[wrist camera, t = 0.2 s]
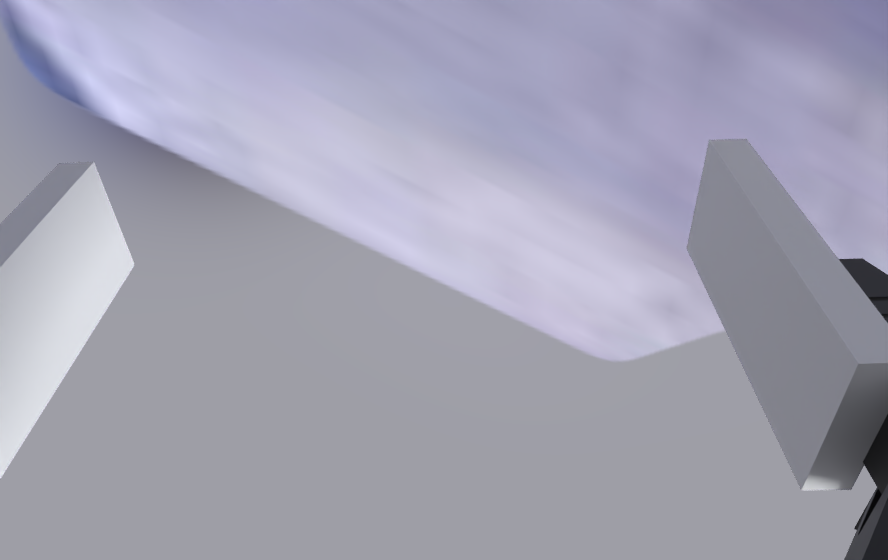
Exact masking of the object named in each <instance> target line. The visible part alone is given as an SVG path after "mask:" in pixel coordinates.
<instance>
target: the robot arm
mask: <svg viewBox="0 0 888 560" xmlns="http://www.w3.org/2000/svg"><path fill="white" fill-rule="evenodd" d="M687 250H688V253H689V255H690V257H691V259H692V261H693V263H694V265H695V267H696V269H697V271H698V274H699V276H700V278H701V280H702V282H703V284H704V286H705V288H706V290H707V293H708V295H709V297H710V299H711V301H712V303H713V305H714V307H715V309H716V312H717V314H718V316H719V318H720V320H721V322H722V324H723V326H724V328H725V330H726V333H727V335H728V337H729V339H730V341H731V343H732V345H733V347H734V349H735V352H736V354H737V356H738V358H739V360H740V362H741V364H742V366H743V368H744V370H745V373H746V375H747V377H748V379H749V381H750V383H751V385H752V387H753V389H754V392H755V394H756V396H757V398H758V400H759V402H760V404H761V406H762V408H763V410H764V413H765V415H766V417H767V419H768V421H769V423H770V425H771V427H772V429H773V432H774V434H775V436H776V438H777V440H778V442H779V444H780V446H781V448H782V451H783V453H784V455H785V457H786V459H787V461H788V463H789V465H790V467H791V470H792V472H793V474H794V476H795V478H796V480H797V482H798V484H799V486H800V489H801V490H851V489H852V487H853V485H854V483H855V482H856V480H857V478H858V476H859V474H860V472H861V470H862V468H863V466H864V465H865V466H866V468H867V470H868V472H869V473H870V475H871V477H872V479H873V480H874V482H875V484H876V486H877V489H876V490H875V492H874V494H873V496H872V498H871V499H870V501H869V503H868V505H867V507H866V508H865V510H864V512H863V514H862V516H861V517H860V519H859V521H858V523H857V525H856V526H855V529H856V530H857V532H856V534H855V536H854V538H853V541H852V543H851V545H850V548H849V551H848V552H847V555H846V557H845V559H844V560H888V275H887V274H885V273H884V272H882V271H881V270H879V269H878V268H876V267H875V266H873V265H872V264H870V263H868V262H867V261H865V260H864V259H838V258H837V256H836V255H835V254H834V253H833V251H832V250H831V249H830V247H829V246H828V245H827V243H826V242H825V241H824V240H823V238H822V237H821V236H820V234H819V233H818V232H817V230H816V229H815V228H814V226H813V225H812V224H811V223H810V221H809V220H808V219H807V217H806V216H805V215H804V213H803V212H802V211H801V210H800V208H799V207H798V206H797V204H796V203H795V202H794V200H793V199H792V198H791V196H790V195H789V194H788V193H787V191H786V190H785V189H784V187H783V186H782V185H781V183H780V182H779V181H778V180H777V178H776V177H775V176H774V174H773V173H772V172H771V170H770V169H769V168H768V167H767V165H766V164H765V163H764V161H763V160H762V159H761V157H760V156H759V155H758V153H757V152H756V151H755V150H754V148H753V147H752V146H751V144H750V143H749V142H748V140H747V139H725V140H709V143H708V148H707V152H706V157H705V162H704V167H703V172H702V176H701V181H700V186H699V191H698V196H697V200H696V205H695V210H694V215H693V220H692V224H691V229H690V234H689V239H688V244H687ZM133 267H134V262H133V260H132V257H131V255H130V252H129V250H128V247H127V245H126V242H125V239H124V237H123V234H122V232H121V229H120V227H119V224H118V222H117V219H116V217H115V214H114V212H113V209H112V207H111V204H110V202H109V199H108V196H107V194H106V192H105V189H104V187H103V184H102V181H101V179H100V176H99V174H98V171H97V169H96V166H95V164H94V162H78V163H59V164H58V165H57V166H56V167H55V168H54V169H53V170H52V171H51V172H50V173H49V174H48V175H47V176H46V177H45V178H44V180H42V182H40V183H39V184H38V186H37V187H36V188H35V189H34V190H33V191H32V192H31V193H30V194H29V195H28V196H27V197H26V198H25V199H24V200H23V201H22V202H21V203H20V204H19V205H18V206H17V207H16V208H15V209H14V210H13V211H12V213H10V214H9V215H8V216H7V217H6V218H5V220H4V221H3V222H2V223H1V224H0V478H1V477H2V475H3V474H4V472H5V471H6V469H7V467H8V466H9V464H10V463H11V461H12V459H13V457H14V456H15V455H16V453H17V451H18V450H19V448H20V447H21V445H22V443H23V442H24V440H25V439H26V437H27V435H28V434H29V432H30V431H31V429H32V427H33V426H34V424H35V423H36V421H37V420H38V418H39V416H40V415H41V413H42V411H43V410H44V408H45V407H46V405H47V404H48V402H49V400H50V399H51V397H52V396H53V394H54V392H55V391H56V389H57V388H58V386H59V385H60V383H61V381H62V380H63V378H64V377H65V375H66V373H67V372H68V370H69V368H70V367H71V365H72V364H73V362H74V361H75V359H76V357H77V356H78V354H79V353H80V351H81V349H82V348H83V346H84V345H85V343H86V341H87V340H88V338H89V337H90V335H91V334H92V332H93V330H94V329H95V327H96V325H97V324H98V322H99V321H100V319H101V318H102V316H103V314H104V313H105V311H106V310H107V308H108V306H109V305H110V303H111V301H112V300H113V298H114V297H115V295H116V294H117V292H118V291H119V289H120V287H121V286H122V284H123V283H124V281H125V279H126V278H127V276H128V275H129V273H130V271H131V270H132V268H133Z"/></svg>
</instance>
